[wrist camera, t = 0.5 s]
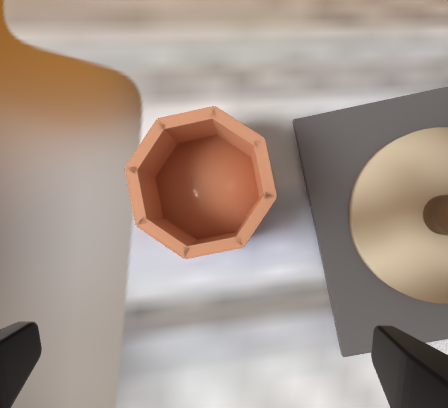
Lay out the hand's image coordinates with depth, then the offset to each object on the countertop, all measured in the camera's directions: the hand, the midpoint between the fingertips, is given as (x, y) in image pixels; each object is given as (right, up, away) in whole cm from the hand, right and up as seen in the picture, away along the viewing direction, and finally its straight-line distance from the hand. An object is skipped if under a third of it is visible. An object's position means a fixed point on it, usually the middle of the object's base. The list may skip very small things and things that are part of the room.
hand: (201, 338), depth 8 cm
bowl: (-1, +5, +14) cm, 15 cm away
